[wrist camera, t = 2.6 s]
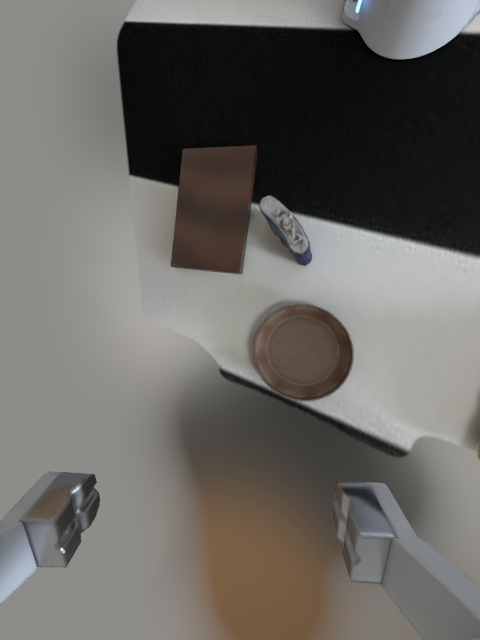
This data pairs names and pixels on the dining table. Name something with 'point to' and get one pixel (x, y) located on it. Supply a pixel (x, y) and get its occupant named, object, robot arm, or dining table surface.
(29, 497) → the robot arm
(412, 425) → the dining table surface
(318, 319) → the saucer
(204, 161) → the cutting board
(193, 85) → the dining table surface
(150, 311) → the dining table surface
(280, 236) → the flask
